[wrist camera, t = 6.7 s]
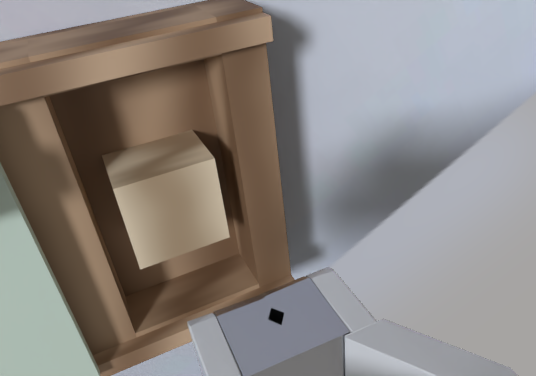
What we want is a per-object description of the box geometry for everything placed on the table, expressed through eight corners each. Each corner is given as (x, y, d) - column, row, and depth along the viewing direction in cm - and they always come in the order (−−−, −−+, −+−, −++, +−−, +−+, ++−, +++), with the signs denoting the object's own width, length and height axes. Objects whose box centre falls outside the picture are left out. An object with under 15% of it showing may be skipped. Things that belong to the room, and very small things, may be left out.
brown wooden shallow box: (231, -5, 22) (270, 10, 19) (268, 256, 31) (299, 298, 27) (-243, 90, 17) (-311, 135, 13) (-36, 373, 25) (-45, 444, 22)
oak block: (192, 129, 24) (214, 158, 21) (208, 202, 26) (229, 237, 23) (101, 155, 22) (112, 189, 20) (127, 230, 25) (140, 269, 22)
